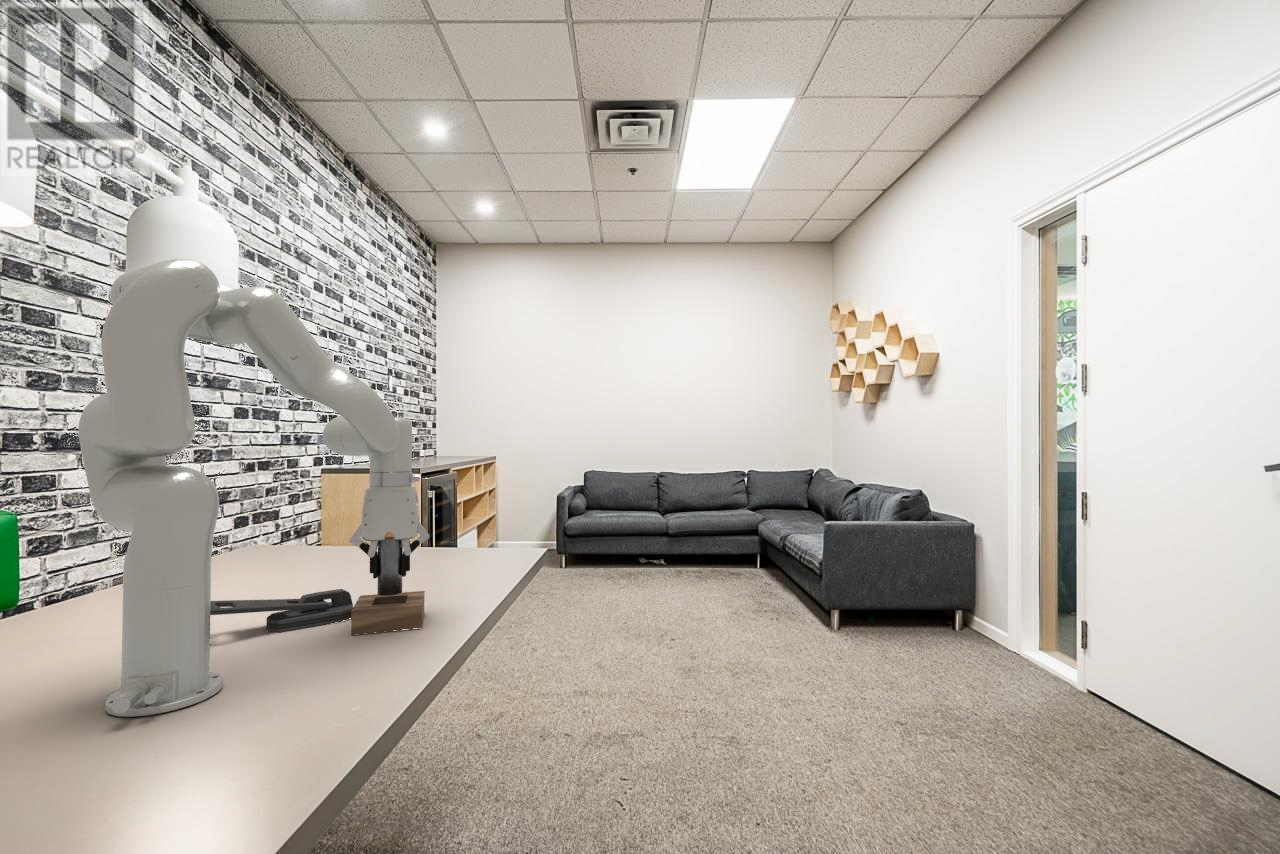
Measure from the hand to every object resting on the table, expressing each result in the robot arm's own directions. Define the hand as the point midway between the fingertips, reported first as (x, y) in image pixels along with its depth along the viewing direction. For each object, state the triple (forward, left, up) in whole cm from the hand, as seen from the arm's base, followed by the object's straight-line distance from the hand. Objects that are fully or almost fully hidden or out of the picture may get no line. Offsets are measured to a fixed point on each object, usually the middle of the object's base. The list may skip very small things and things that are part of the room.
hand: (390, 575), depth 115 cm
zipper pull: (+4, +19, -10) cm, 22 cm away
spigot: (0, 0, -3) cm, 3 cm away
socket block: (0, 0, -9) cm, 9 cm away
